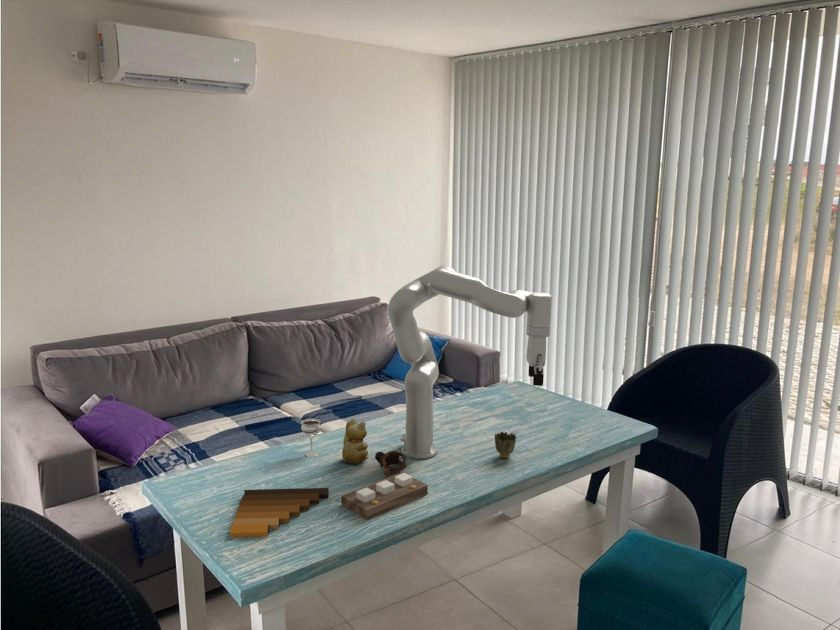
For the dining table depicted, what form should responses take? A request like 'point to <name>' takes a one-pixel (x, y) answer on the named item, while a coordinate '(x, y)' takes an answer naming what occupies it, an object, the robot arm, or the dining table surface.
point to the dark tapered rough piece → (505, 444)
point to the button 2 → (403, 480)
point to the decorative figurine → (355, 442)
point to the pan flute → (271, 509)
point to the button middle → (385, 487)
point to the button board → (384, 498)
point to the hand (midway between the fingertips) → (535, 380)
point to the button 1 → (365, 495)
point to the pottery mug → (391, 462)
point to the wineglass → (311, 431)
